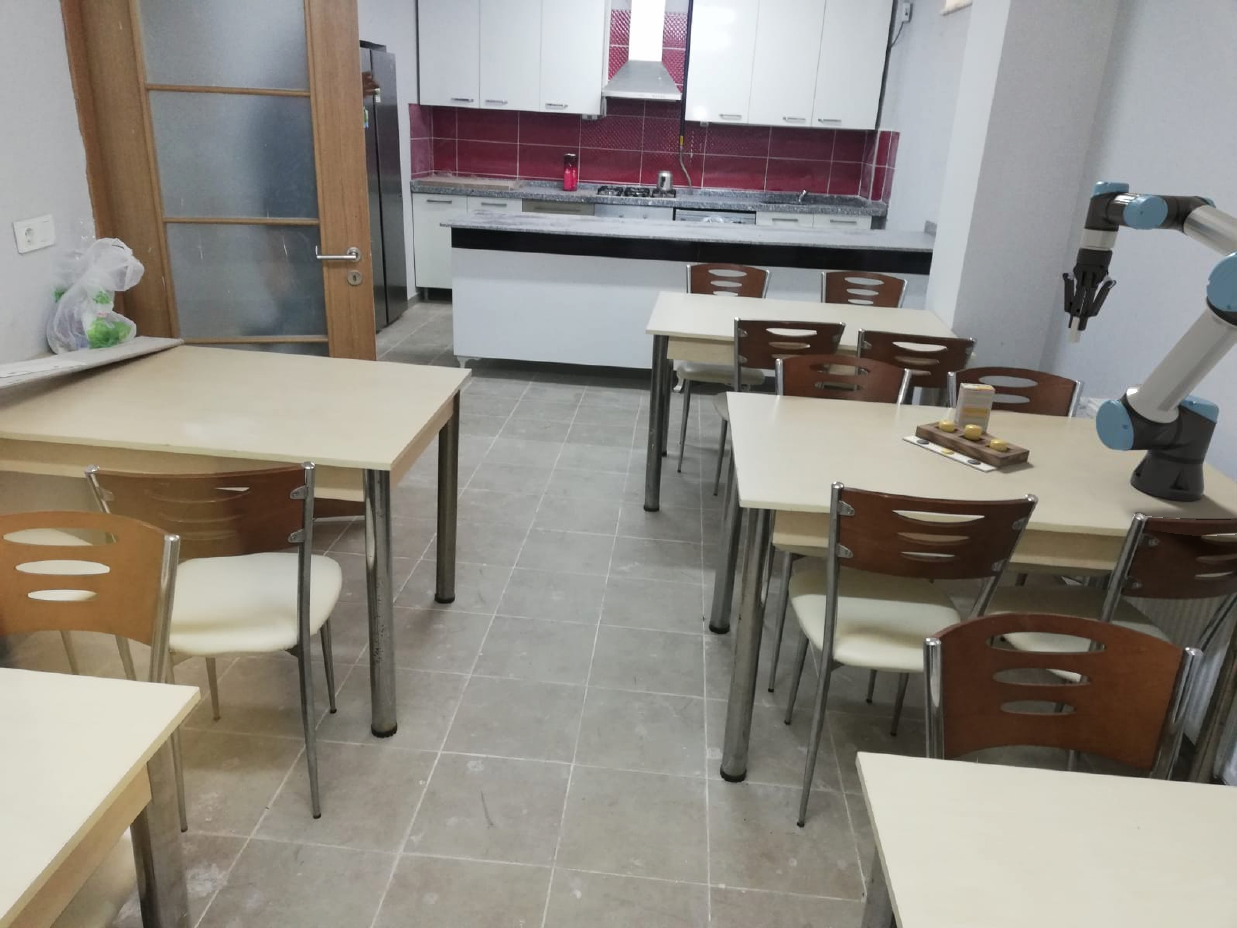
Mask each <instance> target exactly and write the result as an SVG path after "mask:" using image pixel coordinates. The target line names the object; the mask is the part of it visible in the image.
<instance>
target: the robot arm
mask: <svg viewBox="0 0 1237 928" xmlns="http://www.w3.org/2000/svg"><path fill="white" fill-rule="evenodd" d="M1090 196H1091V197H1090V199H1089V200H1090V201H1089V205H1088V208H1087V209H1088V210H1087V212H1086V213H1087V215H1086V217H1085V221H1084V227H1083V231H1082V234H1081V239H1080V242H1079V244H1080V247H1079V248H1078V250H1077V251H1078V252H1077V255H1076V259H1075V263H1076V264H1075V265H1074V267H1073V268H1072V270H1070V271H1068V272H1063V273H1062V275H1061V276H1062V279H1063V282H1064V290H1063V292H1064V295H1063V297H1064V298H1063V311H1064V312H1065V313H1068V314H1069V315H1070V316H1069V320H1068V321H1069V322H1068V325H1067V327H1068V328H1067V329H1070V330H1069V334H1068V338H1067V343H1068V344H1069V343H1070V344H1079V343H1080V339H1081V335H1082V332H1083V331H1085V330H1086V329H1087V325H1088V321H1089V318H1093V317H1097V316H1098V314H1099V312H1100V310H1101V308H1102V306H1103V305H1104V302H1105V301H1106V299H1107V296H1108V295H1109V293H1110V291H1111V290H1112V289H1113V287H1115V286H1116V285H1117V281H1116V280H1115V279H1112V278H1111V277H1110V272H1109V267H1110V265H1111V262H1112V261H1111V260H1112V257H1113V254H1114V252H1113V250H1112V249H1113V248H1115V245H1116V241H1117V238H1118V234H1119V229H1120V227H1126V228H1130V229H1131V228H1132V229H1134V230H1138V231H1139V230H1142V231H1144V230H1145V231H1151V230H1153V229H1154V230H1155V229H1156V230H1174V231H1177V232H1180V233H1181V234H1183V235H1185V236H1187V237H1190V238H1192V239H1193V240H1195V241H1196V242H1199V243H1200V244H1202V245H1204V246H1206V247H1207V248H1209V249H1211V250H1213V251H1215V252H1216V253H1218V254H1220V255H1222V256H1224V258H1222V259H1220V261H1219V262H1218V263H1217V264H1216V265H1215V266H1214V267H1213V269H1212V270H1211V272H1210V274H1209V276H1208V279H1207V281H1208V282H1209V284H1206V289H1205V290H1206V296H1205V300H1204V301H1205V306H1206V309H1204V311H1203V312H1202V313H1201V314H1200V316H1199V317H1197V319H1196V320H1195V322H1194V323H1193V324H1191V326H1190V327H1189V329H1188V330H1187V331H1186V332H1185V333H1184V334H1183V336H1181V338H1180V339H1179V340H1178V341H1177V342H1176V344H1174V346H1173V347H1172V348H1171V350H1170V351H1169V352H1168V353H1167V354H1166V356H1165V357H1164V358H1163V359H1162V360H1161V361H1160V362H1159V364H1158V365H1157V366H1156V367H1155V368H1154V369H1153V370H1152V372H1151V373H1150V374H1149V375H1148V376H1147V378H1146V379H1145V380H1144V381H1143V382H1142V383H1136V384H1133V385H1131V386H1130V387H1129V388H1128V389H1126V391H1125V392H1124V394H1123V395H1122V396H1121V397H1120V398H1119V399H1109V400H1106V401H1104V402H1103V403H1101V404H1100V405H1099V408H1098V410H1097V412H1096V415H1095V430H1096V433H1097V437H1098V438H1099V440H1100V442H1101V443H1102V444H1103V445H1104V446H1105V447H1106V448H1108V449H1111V450H1114V451H1122V452H1128V451H1147V452H1146V453H1145V455H1144V457H1143V458H1142V459H1141V460H1140V462H1139V463H1138V465H1136V467H1135V469H1134V470H1133V471H1132V473H1131V477H1130V480H1129V483H1130V485H1131V486H1132V487H1133V488H1135V489H1137V490H1139V491H1140V492H1143V493H1147V494H1148V495H1151V496H1155V497H1158V498H1162V499H1167V500H1172V501H1178V502H1179V501H1180V502H1193V501H1194V502H1195V501H1198V500H1200V499H1202V497H1203V495H1204V491H1205V480H1204V479H1205V477H1204V468H1203V467H1204V462H1205V459H1206V456H1207V453H1208V450H1209V447H1210V443H1211V441H1212V438H1213V434H1214V432H1215V429H1216V426H1217V424H1218V418H1219V413H1220V409H1219V406H1218V405H1217V404H1215V403H1214V402H1212V401H1210V400H1207V399H1205V398H1202V397H1198V396H1195V395H1191V393H1192V391H1194V389H1195V388H1196V387H1197V386H1198V385H1199V384H1200V383H1201V382H1202V381H1203V380H1204V378H1206V376H1208V375H1209V373H1210V372H1211V371H1212V370H1213V369H1214V368H1215V367H1216V366H1217V364H1219V363H1220V361H1221V360H1222V359H1223V358H1224V357H1225V356H1226V355H1227V354H1228V353H1229V351H1230V350H1232V349H1233V347H1234V346H1235V345H1236V344H1237V218H1236V217H1235V216H1232V215H1230V214H1228V213H1226V212H1224V211H1222V210H1219V209H1218V208H1217V206H1216V204H1215V203H1214V201H1213V200H1212V199H1211V198H1209V197H1205V196H1204V197H1202V196H1199V195H1188V196H1187V195H1165V194H1164V195H1163V194H1148V193H1147V194H1145V193H1135V192H1130V185H1129V183H1128V182H1127V183H1126V182H1120V181H1102V180H1100V181H1097V182H1096V183H1095V184H1094V186H1093V190H1092V194H1091V195H1090ZM1075 280H1076V283H1075ZM1101 283H1102V284H1101ZM1100 284H1101V285H1102V286H1101V287H1100V288H1099V285H1100ZM1098 289H1099V291H1098ZM1097 291H1098V293H1097ZM1095 296H1096V297H1095Z"/></svg>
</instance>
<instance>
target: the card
mask: <svg viewBox="0 0 1237 928" xmlns="http://www.w3.org/2000/svg"><path fill="white" fill-rule="evenodd" d="M901 440H903V441H906V442H908V443H910V444H914V445H916V446H919V447H921V448H924V449H926V450H929V451H931V452H934V453H936V454H938V455H941V456H944V457H946V458H949V459H951V460H954V461H956V462H958V463H961V464H963V465H966V466H968V467H972V468H974V469H976V470H979V471H981V472H984V473H987V472H990V471H995V470H997V468H996V467H993V466H991V465H988V464H986V463H983V462H980V461H978V460H975V459H973V458H970V457H967V456H965V455H962V454H960V453H957V452H955V451H952V450H949V449H947V448H944V447H942V446H939V445H936V444H934V443H931V442H929V441H926V440H924V439H921V438H918V437H916V436H915V435H909V436H905V437H902V439H901Z"/></svg>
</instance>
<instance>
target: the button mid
mask: <svg viewBox="0 0 1237 928" xmlns="http://www.w3.org/2000/svg"><path fill="white" fill-rule="evenodd" d="M981 431H982V428H981V427H980V426H976V425H966V428H965V433H964V437H965V438H968V439H972V440H979V439H980V436H981Z"/></svg>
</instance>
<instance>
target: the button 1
mask: <svg viewBox="0 0 1237 928" xmlns="http://www.w3.org/2000/svg"><path fill="white" fill-rule="evenodd" d="M940 421H941V422H940ZM940 421H939V422H940V424H939V430H942V431H945V432H947V433H950V432H954V429H955V423H953V422H954V421H953V422H952V421H948V420H946V421H945V420H940Z"/></svg>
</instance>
